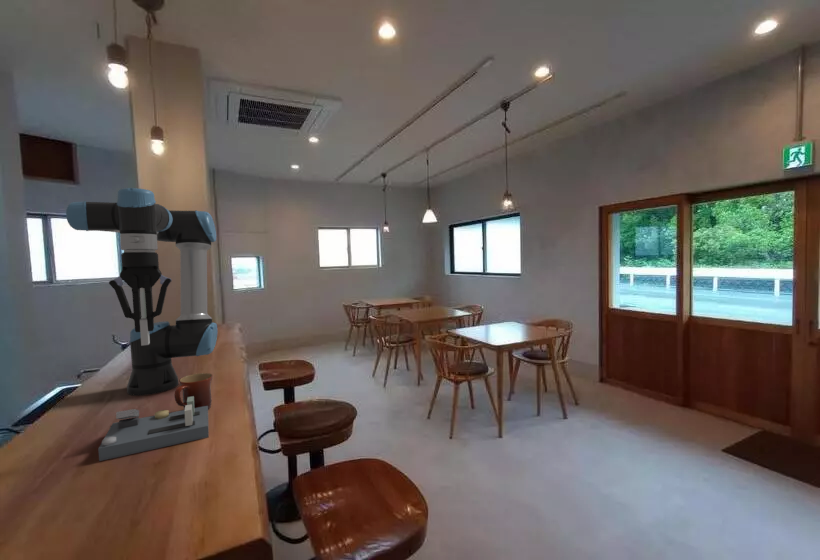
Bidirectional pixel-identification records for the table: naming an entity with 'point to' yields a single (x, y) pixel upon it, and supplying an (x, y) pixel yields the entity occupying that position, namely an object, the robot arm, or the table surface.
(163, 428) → the console
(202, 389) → the mug
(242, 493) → the table surface
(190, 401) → the grey block
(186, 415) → the pale grey cuboid
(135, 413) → the block
